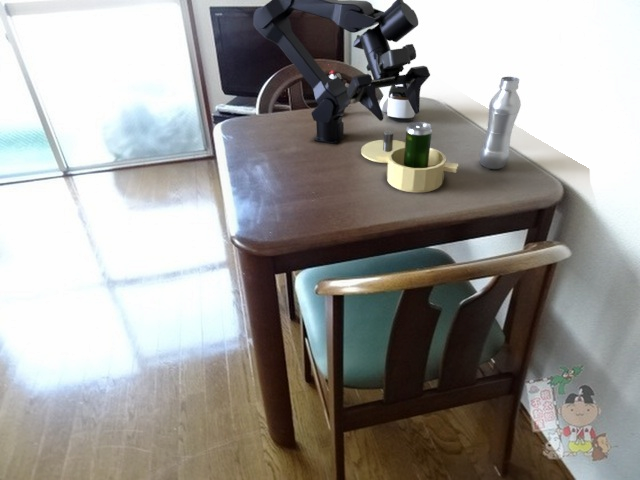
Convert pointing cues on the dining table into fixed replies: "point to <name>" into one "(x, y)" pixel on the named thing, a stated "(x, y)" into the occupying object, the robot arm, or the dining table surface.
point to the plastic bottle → (500, 124)
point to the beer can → (417, 145)
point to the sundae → (335, 75)
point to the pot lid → (381, 147)
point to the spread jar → (397, 104)
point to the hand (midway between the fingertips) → (400, 116)
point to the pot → (416, 171)
